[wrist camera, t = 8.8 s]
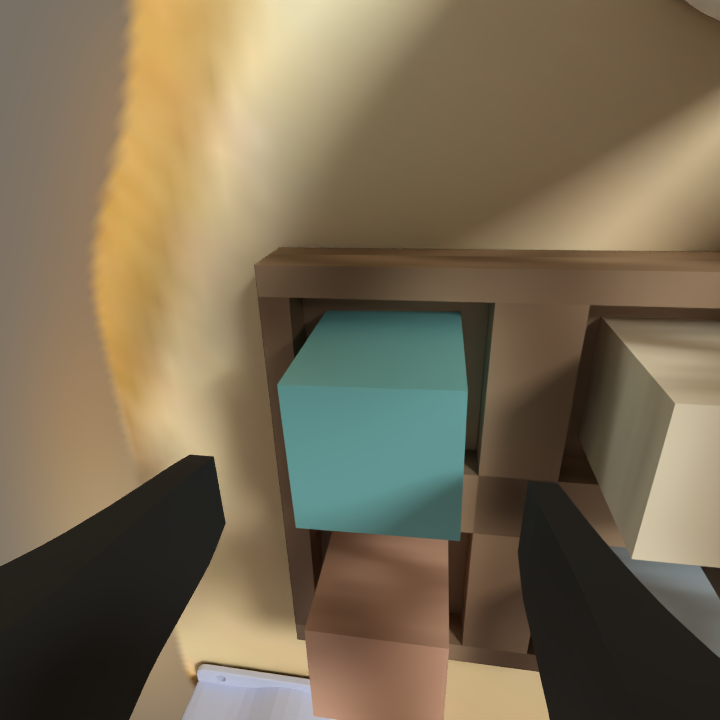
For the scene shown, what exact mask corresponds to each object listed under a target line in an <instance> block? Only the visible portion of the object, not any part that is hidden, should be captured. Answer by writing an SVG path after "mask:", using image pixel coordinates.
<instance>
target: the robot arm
mask: <svg viewBox="0 0 720 720" xmlns="http://www.w3.org/2000/svg"><path fill="white" fill-rule="evenodd" d="M224 526H225V518H224V512H223V506H222V501H221V495H220V490H219V484H218V478H217V473H216V467H215V461H214V457H213V456H200V455H189V456H187V457H185V458H183V459H181V460H180V461H178V462H177V463H175V464H173V465H172V466H170V467H169V468H167V469H166V470H164V471H162V472H161V473H159V474H158V475H156V476H155V477H153V478H152V479H150V480H149V481H147V482H146V483H144V484H143V485H141V486H140V487H138V488H137V489H135V490H133V491H132V492H130V493H129V494H127V495H126V496H124V497H123V498H121V499H120V500H118V501H116V502H115V503H113V504H112V505H110V506H109V507H107V508H105V509H104V510H102V511H100V512H99V513H97V514H95V515H94V516H92V517H90V518H89V519H87V520H85V521H84V522H82V523H80V524H79V525H77V526H75V527H74V528H72V529H71V530H69V531H67V532H66V533H63V534H62V535H60V536H58V537H56V538H55V539H53V540H51V541H49V542H47V543H46V544H44V545H42V546H40V547H38V548H36V549H34V550H32V551H30V552H28V553H26V554H24V555H22V556H20V557H18V558H16V559H14V560H12V561H11V562H8V563H7V564H4V565H2V566H0V720H129V719H130V716H131V714H132V712H133V709H134V707H135V705H136V703H137V700H138V698H139V696H140V694H141V691H142V689H143V687H144V685H145V682H146V680H147V678H148V676H149V674H150V672H151V670H152V668H153V666H154V664H155V662H156V660H157V658H158V656H159V654H160V652H161V651H162V649H163V647H164V645H165V643H166V642H167V640H168V638H169V636H170V634H171V633H172V631H173V629H174V627H175V625H176V624H177V622H178V620H179V618H180V617H181V615H182V613H183V611H184V609H185V608H186V606H187V604H188V602H189V600H190V599H191V597H192V595H193V593H194V591H195V590H196V588H197V586H198V584H199V582H200V580H201V579H202V577H203V575H204V573H205V571H206V569H207V567H208V565H209V564H210V561H211V559H212V556H213V554H214V552H215V549H216V547H217V544H218V542H219V539H220V536H221V534H222V531H223V529H224ZM518 561H519V570H520V580H521V588H522V597H523V602H524V607H525V611H526V616H527V620H528V625H529V629H530V634H531V638H532V642H533V647H534V651H535V656H536V660H537V664H538V669H539V673H540V677H541V682H542V686H543V691H544V695H545V699H546V704H547V708H548V713H549V718H550V720H720V658H719V657H718V656H717V655H716V654H715V653H714V652H712V651H711V650H710V649H709V648H708V647H707V646H706V645H705V644H704V643H703V642H701V641H700V640H699V639H698V638H697V637H696V636H695V635H694V634H693V633H692V632H691V631H690V630H688V629H687V628H686V627H685V626H684V625H683V624H682V623H681V622H680V621H679V620H678V619H677V618H676V617H674V616H673V615H672V614H671V613H670V612H669V611H668V610H667V609H666V608H665V607H664V606H663V605H662V604H661V603H660V602H659V601H658V600H657V599H656V597H655V596H654V595H653V594H652V593H651V592H650V591H649V590H648V589H647V588H646V587H645V586H644V585H643V584H642V583H641V582H640V581H639V580H638V578H637V577H636V576H635V575H634V574H633V573H632V572H631V571H630V570H629V569H628V568H627V566H626V565H625V564H624V563H623V562H622V561H621V559H620V558H619V557H618V556H617V555H616V554H615V553H614V551H613V550H612V549H611V548H610V547H609V546H608V544H607V543H606V542H605V541H604V540H603V539H602V537H601V536H600V535H599V534H598V533H597V531H596V530H595V529H594V528H593V526H592V525H591V524H590V523H589V521H588V520H587V519H586V518H585V516H584V515H583V514H582V513H581V511H580V510H579V509H578V508H577V506H576V505H575V504H574V502H573V501H572V500H571V499H570V497H569V496H568V495H567V493H566V492H565V491H564V490H563V488H562V487H561V486H560V485H559V484H558V483H549V482H536V481H528V486H527V492H526V499H525V506H524V513H523V519H522V526H521V533H520V539H519V546H518ZM197 677H198V681H199V682H198V683H197V685H196V688H195V690H194V692H193V694H192V697H191V699H190V701H189V703H188V705H187V708H186V710H185V712H184V714H183V716H182V719H181V720H335V719H329V718H323V717H316V716H314V715H313V706H312V696H311V687H310V679H306V678H299V677H292V676H285V675H279V674H272V673H265V672H258V671H251V670H244V669H237V668H231V667H224V666H217V665H210V664H202V665H200V666H199V668H198V670H197Z"/></svg>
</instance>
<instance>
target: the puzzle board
mask: <svg viewBox="0 0 720 720" xmlns="http://www.w3.org/2000/svg"><path fill="white" fill-rule="evenodd" d="M254 267H255V276H256V285H257V293H258V302H259V311H260V319H261V328H262V337H263V345H264V354H265V363H266V371H267V380H268V388H269V397H270V406H271V414H272V423H273V432H274V440H275V449H276V458H277V466H278V475H279V484H280V492H281V501H282V510H283V518H284V527H285V536H286V544H287V553H288V562H289V570H290V579H291V587H292V596H293V605H294V613H295V622H296V631H297V639H299V640H306V649H307V659H308V668H309V677H310V687H311V696H312V706H313V715H314V716H316V717H323V718H329V719H335V720H444V707H445V694H446V682H447V669H448V660H455V661H463V662H470V663H478V664H485V665H493V666H500V667H508V668H515V669H522V670H530V671H537V672H539V669H538V664H537V660H536V656H535V651H534V647H533V642H532V638H531V634H530V629H529V625H528V620H527V616H526V611H525V607H524V602H523V597H522V588H521V580H520V570H519V561H518V546H519V539H520V533H521V526H522V519H523V513H524V506H525V499H526V492H527V486H528V481H536V482H549V483H558V484H559V485H560V486H561V487H562V488H563V490H564V491H565V492H566V493H567V495H568V496H569V497H570V499H571V500H572V501H573V502H574V504H575V505H576V506H577V508H578V509H579V510H580V511H581V513H582V514H583V515H584V516H585V518H586V519H587V520H588V521H589V523H590V524H591V525H592V526H593V528H594V529H595V530H596V531H597V533H598V534H599V535H600V536H601V537H602V539H603V540H604V541H605V542H606V543H607V544H608V546H609V547H610V548H611V549H612V550H613V551H614V553H615V554H616V555H617V556H618V557H619V558H620V559H621V561H622V562H623V563H624V564H625V565H626V566H627V568H628V569H629V570H630V571H631V572H632V573H633V574H634V575H635V576H636V577H637V578H638V580H639V581H640V582H641V583H642V584H643V585H644V586H645V587H646V588H647V589H648V590H649V591H650V592H651V593H652V594H653V595H654V596H655V597H656V599H657V600H658V601H659V602H660V603H661V604H662V605H663V606H664V607H665V608H666V609H667V610H668V611H669V612H670V613H671V614H672V615H673V616H674V617H676V618H677V619H678V620H679V621H680V622H681V623H682V624H683V625H684V626H685V627H686V628H687V629H688V630H690V631H691V632H692V633H693V634H694V635H695V636H696V637H697V638H698V639H699V640H700V641H701V642H703V643H704V644H705V645H706V646H707V647H708V648H709V649H710V650H711V651H712V652H714V653H715V654H716V655H717V656H718V657H719V658H720V252H684V251H578V250H472V249H366V248H278V249H277V250H275V251H274V252H272V253H271V254H269V255H268V256H267V257H265V258H264V259H262V260H261V261H259V262H258V263H256V264H255V265H254ZM326 311H461V321H462V332H463V343H464V354H465V365H466V376H467V388H468V397H467V417H466V436H465V456H464V475H463V495H462V514H461V534H460V541H453V540H440V539H428V538H416V537H403V536H391V535H378V534H366V533H354V532H341V531H329V530H316V529H304V528H296V525H295V517H294V510H293V502H292V494H291V487H290V479H289V472H288V464H287V456H286V449H285V441H284V434H283V426H282V418H281V411H280V403H279V396H278V388H277V384H278V383H279V381H280V380H281V378H282V377H283V375H284V374H285V372H286V371H287V369H288V368H289V366H290V365H291V363H292V362H293V360H294V359H295V357H296V356H297V354H298V353H299V351H300V350H301V348H302V347H303V345H304V344H305V342H306V341H307V339H308V338H309V336H310V335H311V333H312V332H313V330H314V329H315V327H316V326H317V324H318V323H319V321H320V320H321V318H322V317H323V315H324V313H325V312H326Z"/></svg>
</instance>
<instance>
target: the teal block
mask: <svg viewBox="0 0 720 720" xmlns="http://www.w3.org/2000/svg"><path fill="white" fill-rule="evenodd" d="M277 388H278V396H279V403H280V411H281V418H282V426H283V434H284V441H285V449H286V456H287V464H288V472H289V479H290V487H291V494H292V502H293V510H294V517H295V525H296V528H304V529H316V530H329V531H341V532H354V533H366V534H378V535H391V536H403V537H416V538H428V539H440V540H453V541H460V534H461V514H462V495H463V475H464V456H465V436H466V417H467V397H468V388H467V376H466V365H465V354H464V343H463V332H462V321H461V311H326V312H325V313H324V315H323V317H322V318H321V320H320V321H319V323H318V324H317V326H316V327H315V329H314V330H313V332H312V333H311V335H310V336H309V338H308V339H307V341H306V342H305V344H304V345H303V347H302V348H301V350H300V351H299V353H298V354H297V356H296V357H295V359H294V360H293V362H292V363H291V365H290V366H289V368H288V369H287V371H286V372H285V374H284V375H283V377H282V378H281V380H280V381H279V383H278V384H277Z"/></svg>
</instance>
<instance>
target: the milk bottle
mask: <svg viewBox="0 0 720 720" xmlns="http://www.w3.org/2000/svg"><path fill="white" fill-rule="evenodd" d="M685 1H686V2H688V3H689V4H690V5H691V6H693V7H694V8H696V9H697V10H699V11H701V12H702V13H704V14H706V15H708V16H710V17H712V18H714V19H716V20H719V21H720V0H685Z"/></svg>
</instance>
